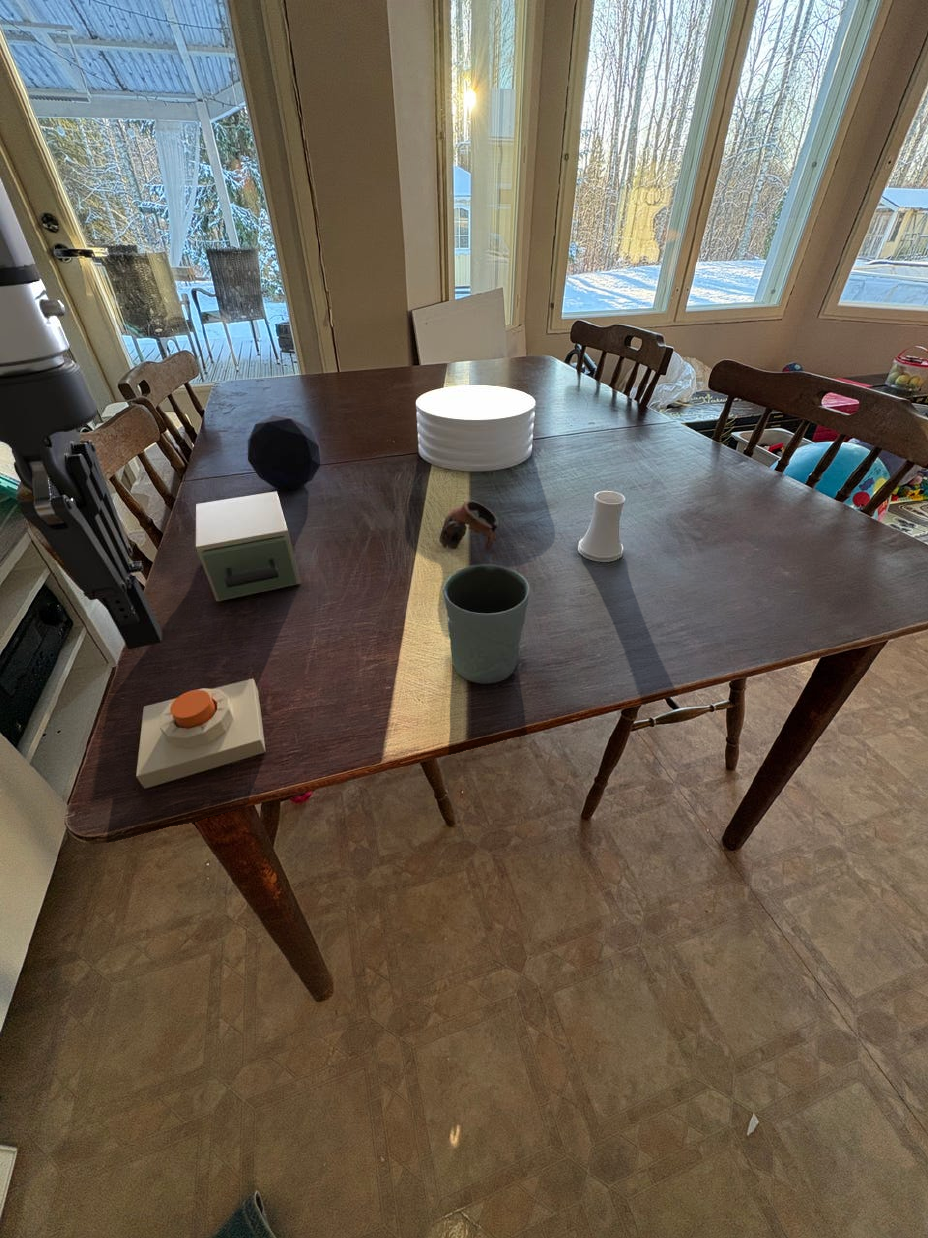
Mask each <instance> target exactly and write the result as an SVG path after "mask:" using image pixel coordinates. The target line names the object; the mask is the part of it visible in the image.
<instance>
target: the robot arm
mask: <svg viewBox="0 0 928 1238" xmlns="http://www.w3.org/2000/svg"><path fill="white" fill-rule="evenodd" d="M4 186H5V185H4V183H3V180H2V179H1V177H0V442H1V443H3V444H6V445H7V446H8V447H9V448H10V449H11V454H12V456H13V458H14V462H13V468H14V471H15V473H16V475H17V477H18V479H19V481H20V482H21V484H22V485H23V487H24V488H26V489H28V490H29V491H30V493H31V494H32V495H33V499H26V500H21V501H19V509H20V512H21V514H22V515H23V517H24V518H25V519H26V520H27V521H28V522H29V523H30V524H32V525H33V526H34V527H35V529H37V530H38V531H39V532H40V533H41V535H42V537H44V539H45V541H46V543H48V545H49V546H50V548H52V550H53V552H54V553H55V554H56V555H57V557H58V558H59V560H60V562H61V563H62V564H63V565H64V567H65V568H66V569H67V571H68V572H69V574H70V575H71V577H72V578H73V579H74V581H75V582H76V584H77V585H78V587H79V588H80V590H81V591H82V592H83V595H84V596H85V597H86V598H87V599H88V600H89V601H96V600H100V599H101V600H102V602H103V604H104V606H105V608H106V610H107V612H108V614H109V616H110V617H111V620H112V621H113V623H114V625H115V627H116V629H117V631H118V633H119V634H120V636H121V638H122V640H123V642H124V644H125V646H126V647H127V650H134V649H138V648H143V647H147V646H152V645H156V644H160V643H162V641H163V631H162V629H161V627H160V625H159V622H158V621H157V619H156V617H155V614H154V612H153V610H152V608H151V605H150V604H149V601H148V599H147V597H146V595H145V593H144V591H143V589H142V586H141V585H140V582H139V580H138V578H137V575H131V574H134V573H138V572H139V573H140V572H143V571H144V565H143V563H142V560H138V561H131V557H133V554H134V553H133V551H134V550H133V547H132V546H131V545H130V542H129V539H128V536H127V534H126V531H125V529H124V526H123V524H122V521H121V519H120V516H119V513H118V511H117V508H116V505H115V502H114V500H113V497H112V495H111V492H110V490H109V487H108V485H107V484H108V483H107V482H106V479H105V477H104V473H103V470H102V468H101V465H100V461H99V458H98V454H97V451H96V450H97V448H96V446H95V444H94V442H93V441H92V440H91V439H84V440H81V438H80V435H79V433H78V431H77V429H79V428H83V427H84V426H86V425H88V424H90V423H91V422H92V421H94V420H95V418H96V417H97V415H98V408H97V406H96V403H95V401H94V399H93V396H92V394H91V392H90V389H89V387H88V384H87V382H86V380H85V377H84V375H83V372H82V370H81V368H80V365H79V364H78V363H76V362H75V361H74V360H73V359H71V358H68V357H64V356H63V355H65V354H66V353H67V352H68V350H69V349H70V343H69V341H68V339H67V336H66V334H65V332H64V330H63V327H62V325H61V322H60V320H59V319H58V318H61V317H65V315H66V313H67V312H66V307H65V305H64V304H63V303H62V302H61V301H60V299H57V298H49V297H48V295H47V290H46V287H45V285H44V283H43V281H42V277H41V274H40V272H39V270H38V267H37V266H36V262H35V260H34V258H33V255H32V253H31V252H32V251H31V250H30V247H29V245H28V243H27V240H26V238H25V234H24V232H23V230H22V228H21V225H20V222H19V220H18V218H17V216H16V213H15V210H14V208H13V206H12V202H11V201H10V198H9V195H8V193H7V191H6V188H5V187H4Z"/></svg>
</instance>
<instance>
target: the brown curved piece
mask: <svg viewBox="0 0 928 1238" xmlns="http://www.w3.org/2000/svg"><path fill="white" fill-rule="evenodd" d="M474 511H477V513H478V518H479V519H478V518H477V517H476V516H474V515H473V513H472V512H474ZM481 519H483V520H484V521H485V522H486V523H485V522H483V521H482V520H481ZM499 525H500V524H499V520H498V518H497V516H496V515H495V513H493V511H491V510H490V509H489V508H488V507H486V506H485V505H484V504H482V503H480V502H478V501H475V500H465V501H464V502H463V504H462V505H458V506H456V507H455V508H452V509H451V511H450V512H448V513H447V515H446V517H445V520H444V522H443V524H442V527H441V531H440V535H439V543H440V544H441V546H442V548H446V547H448V548H449V549H452V550H457V549H458V547H459V545H460V543H461V541H462V539H463V538H464V537H465V535H466V532H467V527H468V529H469V530H471V531H473V532H475V533H477V534H481V535H482V536H484V537H487V541H486V544H485V547H484V548H485V549H486V550H489V549H490V548H492V546H493V544H494V542H495V541H496V537H497V529H498V528H499Z"/></svg>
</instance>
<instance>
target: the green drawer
mask: <svg viewBox="0 0 928 1238" xmlns="http://www.w3.org/2000/svg"><path fill="white" fill-rule="evenodd" d="M202 556H203V559H204V561H205V564H206V567H207V569H208V572H209V575H210V577H211V580H212V583H213V585H214V588H215V591H216V593H217V596H218V598H219V600H221V601H224V600H223V599H226V600H229V599H228V598H231V599H233V598H232V597H235V598H238V597H237V596H240V597H243V596H242V595H245V596H247V595H246V594H249V595H252V594H251V593H254V594H257V593H256V592H259V593H261V592H260V591H264V592H266V591H265V590H268V591H271V590H270V589H273V590H275V589H274V588H278V589H280V588H279V587H282V588H285V587H284V586H287V587H289V586H288V585H292V586H294V585H293V584H296V585H298V584H297V582H296V578H295V574H294V570H293V566H292V562H291V558H290V554H289V550H288V546H287V543H286V539H285V536H284V537H280V536H279V537H274V538H268V539H263V540H258V541H252V542H247V543H241V544H236V545H231V546H225V547H220V548H214V549H209V551H204V552H202Z"/></svg>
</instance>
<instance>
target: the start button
mask: <svg viewBox="0 0 928 1238" xmlns="http://www.w3.org/2000/svg"><path fill="white" fill-rule="evenodd" d="M174 699H175V700H174V702H173V703H172V705H171V708H170V711H171V714H172V716H173V717H174V719H175V721H176V723H177V724H178V726H180V727H182V728H186V729H190V728H194V727H197V726H201V725H203V724H204V723H206V722H207V721H209V720H210V719H211V718H212V717H213V715H214V713H215V709H216V708H215V705H214V703H213V701H212V698H211V696H210V694H209V693H208V692H206V691H203V690H199V689H194V690H193V689H192V690H189V691H186V692H184V693H182V694H180V695H179V696H178V697H176V698H174Z"/></svg>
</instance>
